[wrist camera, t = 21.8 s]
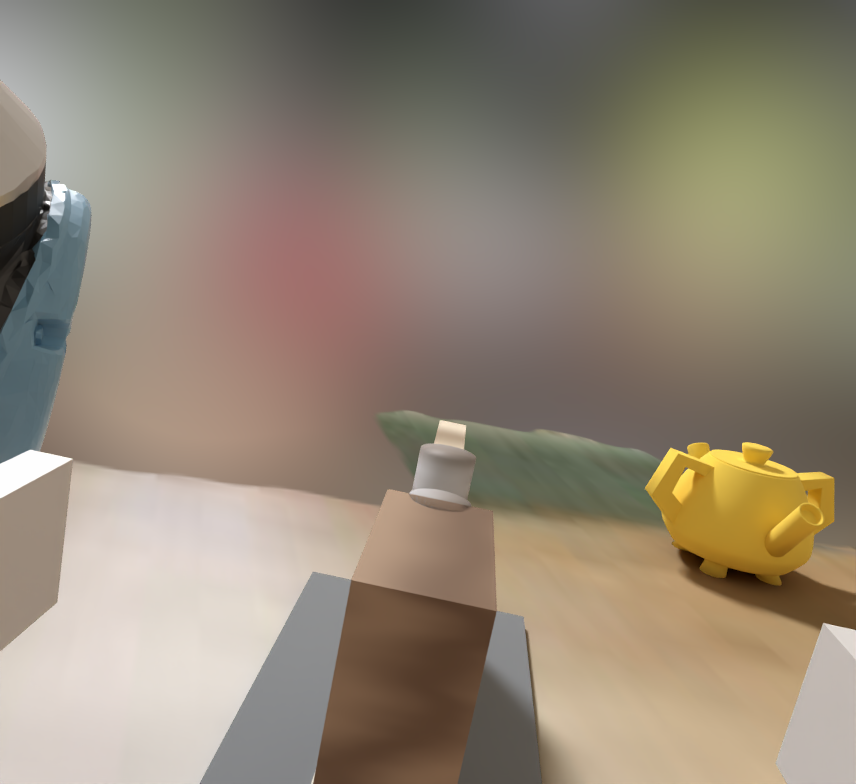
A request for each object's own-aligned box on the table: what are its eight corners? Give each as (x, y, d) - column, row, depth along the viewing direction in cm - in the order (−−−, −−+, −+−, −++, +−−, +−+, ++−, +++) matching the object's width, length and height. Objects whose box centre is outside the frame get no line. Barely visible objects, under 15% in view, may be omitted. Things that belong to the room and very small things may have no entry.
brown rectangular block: (288, 917, 25) (351, 579, 23) (344, 727, 35) (391, 479, 33) (419, 948, 25) (496, 611, 23) (438, 748, 35) (492, 501, 33)
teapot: (594, 509, 78) (620, 403, 76) (753, 532, 81) (782, 430, 79) (685, 604, 59) (724, 466, 57) (889, 629, 62) (933, 498, 60)
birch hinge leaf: (420, 723, 37) (475, 465, 34) (367, 711, 37) (418, 453, 34) (435, 608, 49) (477, 411, 46) (395, 600, 49) (435, 402, 46)
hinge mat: (565, 1060, 23) (571, 1041, 23) (114, 954, 24) (117, 935, 23) (521, 625, 50) (523, 615, 50) (311, 580, 51) (313, 570, 50)
